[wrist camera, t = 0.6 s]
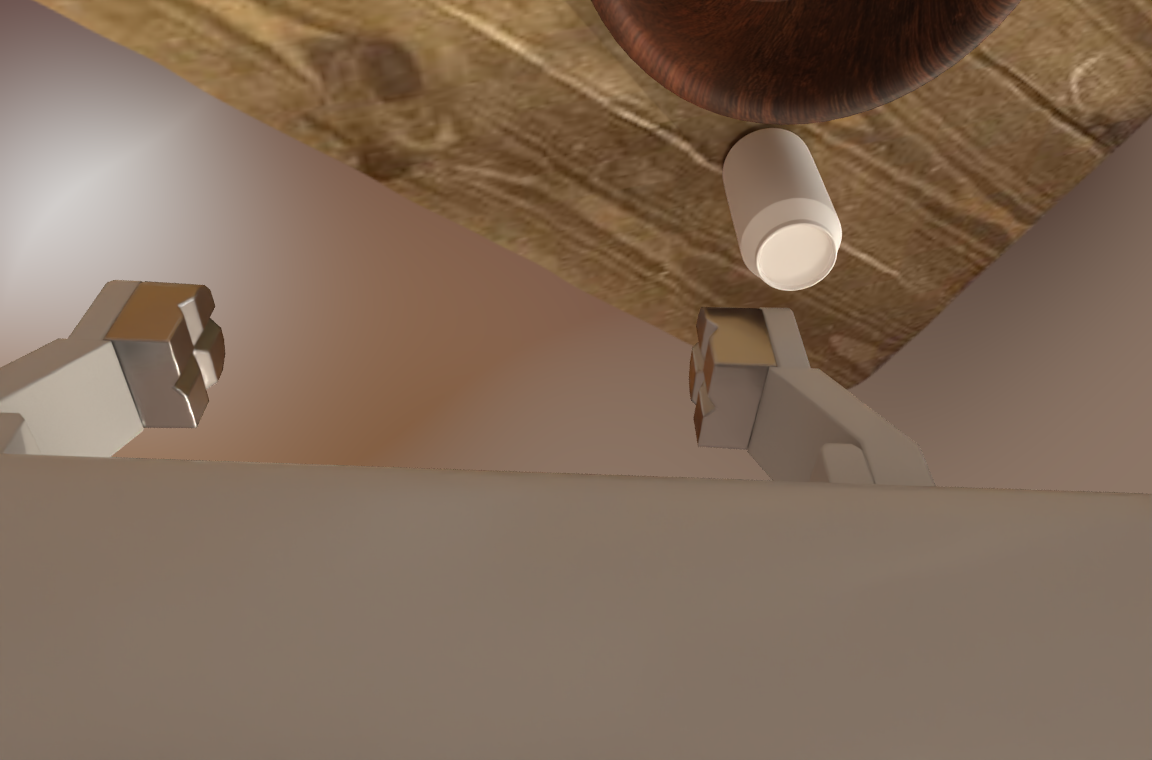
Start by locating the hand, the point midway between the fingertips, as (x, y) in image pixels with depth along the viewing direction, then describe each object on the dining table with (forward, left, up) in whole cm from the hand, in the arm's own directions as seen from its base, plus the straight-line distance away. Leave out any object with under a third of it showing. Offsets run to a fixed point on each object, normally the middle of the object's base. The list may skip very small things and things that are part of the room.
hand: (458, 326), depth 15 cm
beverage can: (+20, +16, -46) cm, 52 cm away
